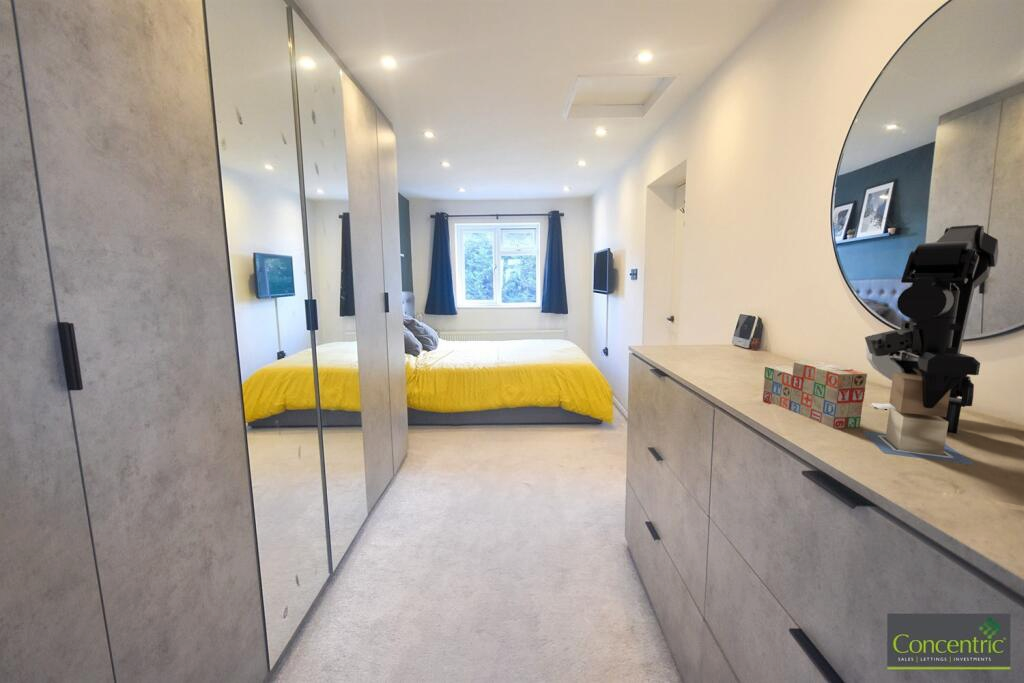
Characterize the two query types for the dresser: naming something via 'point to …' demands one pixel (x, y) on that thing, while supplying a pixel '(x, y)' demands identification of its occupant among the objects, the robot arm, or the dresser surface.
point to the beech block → (916, 432)
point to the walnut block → (914, 396)
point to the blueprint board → (889, 448)
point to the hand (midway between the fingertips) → (919, 402)
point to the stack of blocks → (817, 392)
